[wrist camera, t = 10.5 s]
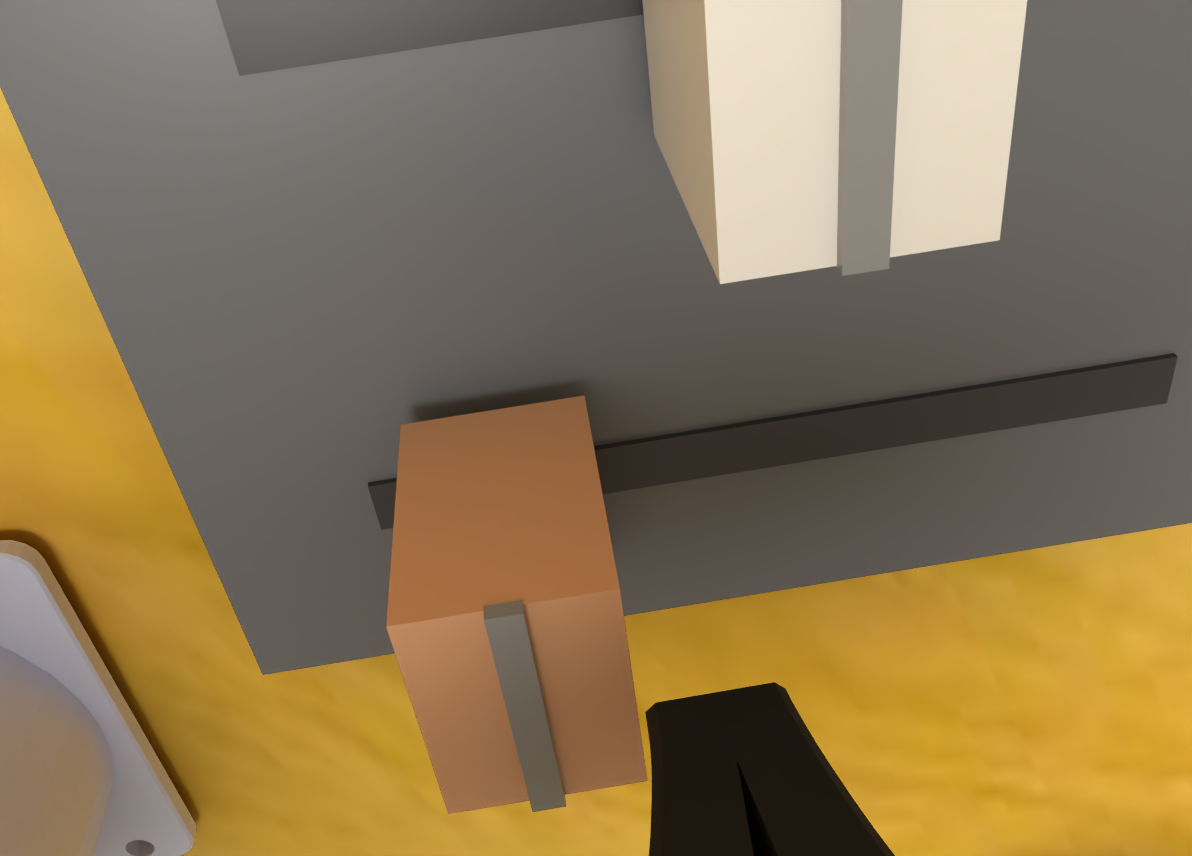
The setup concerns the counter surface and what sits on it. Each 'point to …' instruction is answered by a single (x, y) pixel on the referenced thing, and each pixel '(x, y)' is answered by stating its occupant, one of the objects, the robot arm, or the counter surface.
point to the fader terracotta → (511, 608)
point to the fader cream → (834, 126)
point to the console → (599, 296)
